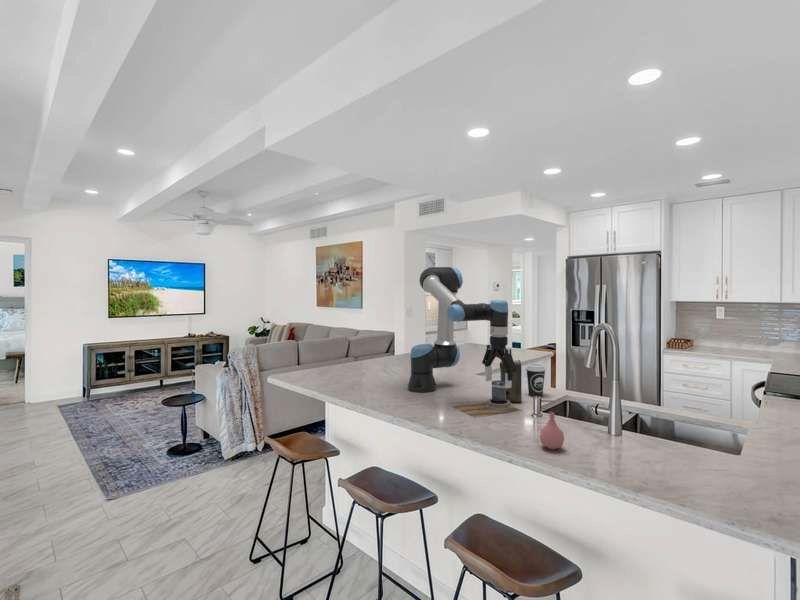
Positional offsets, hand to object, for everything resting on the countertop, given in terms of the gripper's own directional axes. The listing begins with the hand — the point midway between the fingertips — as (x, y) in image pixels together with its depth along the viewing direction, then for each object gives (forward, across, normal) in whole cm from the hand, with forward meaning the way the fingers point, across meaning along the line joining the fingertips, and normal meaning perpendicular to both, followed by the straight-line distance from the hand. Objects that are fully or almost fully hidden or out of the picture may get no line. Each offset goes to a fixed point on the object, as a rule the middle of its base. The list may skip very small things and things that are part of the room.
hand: (498, 384), depth 182 cm
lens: (+10, +1, 0) cm, 10 cm away
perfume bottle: (+11, +43, -11) cm, 45 cm away
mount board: (+12, 0, -6) cm, 13 cm away
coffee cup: (+12, -11, +32) cm, 36 cm away
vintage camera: (+12, -12, +16) cm, 23 cm away
